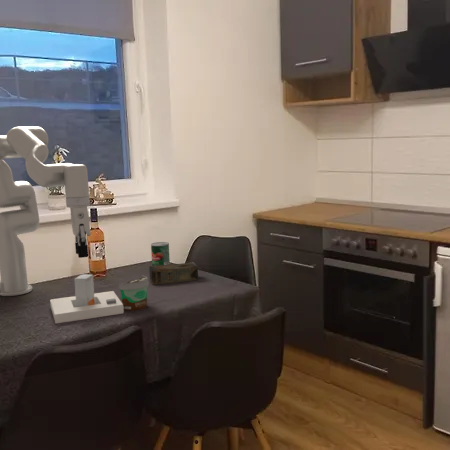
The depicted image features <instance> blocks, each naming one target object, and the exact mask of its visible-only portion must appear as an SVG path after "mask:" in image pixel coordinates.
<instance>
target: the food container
mask: <svg viewBox="0 0 450 450" xmlns="http://www.w3.org/2000/svg"><path fill="white" fill-rule="evenodd" d="M149 281H150V280H149V278H148V277H147V276H146V275H144V274H142V275H141V277H140V278H139V277H138V278H137V279H131V280H129V281H128V282H126V283H123V282H119V284H118V290H120V297H121V302H122V304H123V309H124V312H136V311H138V312H139V311H142V310H144V309H147V306H148V303H147V302H148V286H149V285H150V282H149Z"/></svg>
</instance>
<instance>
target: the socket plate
mask: <svg viewBox="0 0 450 450" xmlns="http://www.w3.org/2000/svg"><path fill="white" fill-rule="evenodd" d="M94 298H95V305H89V306H82V307H76V295H74V296H67V297H59V298H53V299H52V298H51V299H49V305H50V310H51V313H52V317H53V319H54V324H62V323H63V324H64V323H69V322H74V321H75V322H76V321H81V320H89V319H95V318H100V317H101V318H102V317H107V316H113V315H114V316H115V315H120V314H124V313H125V311H124V309H123V304H122V300H121V299H120V298H119V296H118V295H117V294H116V293H115V291H114V290H112V291H103V292H94Z"/></svg>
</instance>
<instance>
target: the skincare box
mask: <svg viewBox="0 0 450 450" xmlns="http://www.w3.org/2000/svg"><path fill="white" fill-rule="evenodd" d="M74 290H75V291H74V292H75V295H74V296H76V307H82V306H89V305H95V298H94V294H95V286H94V275H93V274H85V273H84V274H80V275H78V276H77V277H75V278H74Z"/></svg>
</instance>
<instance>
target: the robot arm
mask: <svg viewBox="0 0 450 450" xmlns="http://www.w3.org/2000/svg"><path fill="white" fill-rule="evenodd" d="M48 145H49V135H48V133H47V131H46V130H45V129H43V128H42V127H41V126H15V127H13V128H11V129H9V130H8V131H7V133H6V134H5V135H3V134H1V135H0V209H1V208H2V209H5V208H13V207H19V209H13V210H7V211H1V212H0V296H2V297H14V296H21V295H25V294H28V293H30V292H31V291H33V286H32V285H31V284H29V281H28V273H27V263H26V253H25V245H24V243H23V242H22V240H21V239H20V238H19V237H18V236H20V235H23V234H28V233H33V232H35V231H37V230H38V229H39V226H40V215H39V209H38V202H37V198H36V197H37V196H36V192H35V189H34V187H33V186H32V184H31V183H30V182H28V181H27V180H26V181H25V180H18V181H17V180H16V181H14V176H13V172H12V169H11V167H10V166H9V164H8V163H7V162H6V161H5V160H4V159H17V158H20V159H21V158H23V159H24V160H25V169H26V172H27V175H28V176H29V178H30V179H31V180H32V181H34V182H35V183H36V184H37V185H39V186H40V187H42V188H45V189H46V188H55V187H56V188H57V187H64V191H65V203H66V204H65V205H66V208H68V209H69V208H70V222H71V229H72V233H73V235H74V239H75V241H74V245H75V254H76V255H78V257H77V258H79V259H80V258H88V257H89V248H88V246H89V245H88V240H87V236H88V237H90V236H91V227H90V226H91V225H90V217H89V210H88V207H90V206H91V203H90V189H89V188H90V187H89V177H88V168H87V166H86V165H85V164H83V163H81V164H79V163H75V164H74V163H71V162H65V163H50V164H44V163H45V161H46V160H47V159H48V157H49V153H50V151H49V148H48Z"/></svg>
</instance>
